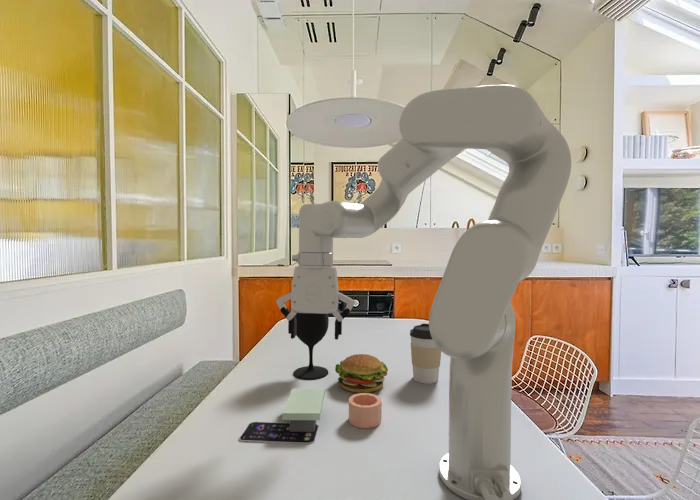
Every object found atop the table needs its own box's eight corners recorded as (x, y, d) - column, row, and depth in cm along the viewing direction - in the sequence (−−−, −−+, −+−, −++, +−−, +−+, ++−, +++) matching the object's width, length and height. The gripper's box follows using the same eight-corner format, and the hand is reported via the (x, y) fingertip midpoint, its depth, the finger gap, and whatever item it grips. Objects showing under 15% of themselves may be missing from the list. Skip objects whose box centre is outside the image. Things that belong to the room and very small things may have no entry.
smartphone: (314, 442, 69) (237, 440, 70) (314, 446, 69) (237, 443, 70) (319, 423, 77) (250, 421, 78) (319, 426, 77) (250, 424, 78)
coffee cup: (442, 386, 97) (443, 330, 97) (408, 383, 99) (409, 329, 98) (441, 374, 106) (441, 323, 105) (410, 372, 108) (410, 321, 107)
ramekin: (382, 428, 75) (382, 407, 75) (348, 428, 75) (348, 407, 75) (379, 412, 82) (380, 393, 82) (349, 412, 82) (349, 393, 82)
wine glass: (285, 375, 104) (285, 307, 104) (306, 365, 114) (306, 301, 113) (316, 382, 99) (316, 310, 99) (335, 370, 109) (335, 304, 108)
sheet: (319, 420, 72) (319, 413, 72) (282, 420, 72) (282, 413, 72) (324, 394, 84) (324, 388, 84) (292, 394, 84) (292, 388, 84)
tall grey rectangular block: (314, 432, 73) (314, 417, 73) (289, 432, 73) (289, 417, 73) (318, 409, 83) (318, 396, 83) (297, 409, 83) (297, 396, 83)
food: (396, 381, 100) (397, 353, 100) (370, 400, 89) (371, 368, 88) (355, 371, 108) (355, 345, 108) (326, 387, 96) (326, 357, 96)
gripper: (272, 261, 76) (272, 341, 77) (354, 262, 76) (353, 343, 76) (280, 259, 84) (280, 332, 84) (355, 260, 83) (354, 333, 84)
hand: (315, 337), depth 80 cm, fingers open, 9 cm apart
